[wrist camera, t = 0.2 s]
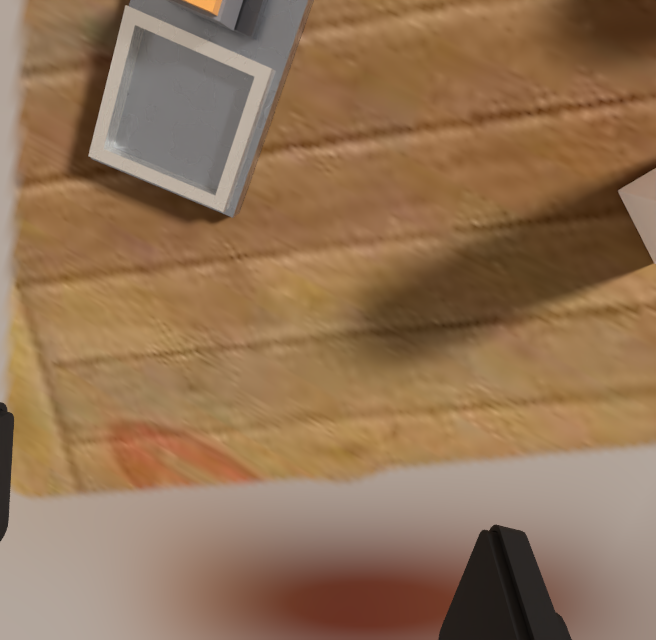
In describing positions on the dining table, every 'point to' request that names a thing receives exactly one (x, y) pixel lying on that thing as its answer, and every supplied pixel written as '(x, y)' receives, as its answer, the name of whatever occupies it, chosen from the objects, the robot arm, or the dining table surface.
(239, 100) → the panel
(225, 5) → the toggle
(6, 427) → the robot arm
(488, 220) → the dining table surface
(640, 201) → the milk
